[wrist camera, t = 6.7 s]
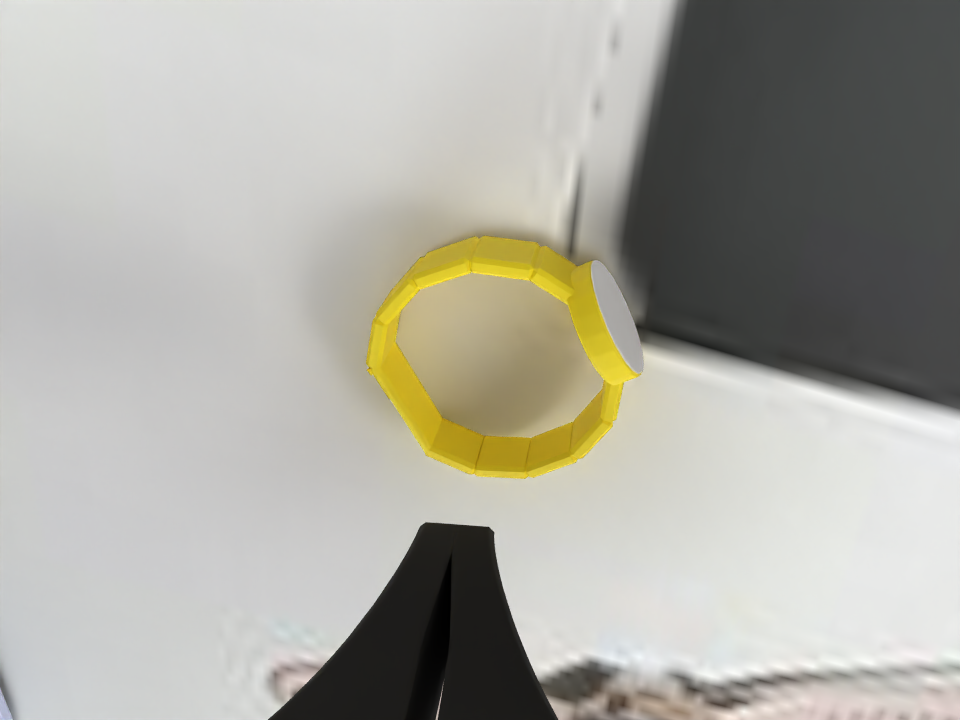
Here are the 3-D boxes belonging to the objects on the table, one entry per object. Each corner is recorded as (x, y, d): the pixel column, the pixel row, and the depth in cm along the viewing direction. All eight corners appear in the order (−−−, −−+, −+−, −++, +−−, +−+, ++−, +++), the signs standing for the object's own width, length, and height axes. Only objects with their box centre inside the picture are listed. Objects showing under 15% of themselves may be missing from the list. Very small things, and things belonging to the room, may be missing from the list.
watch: (311, 338, 16) (542, 217, 14) (352, 285, 18) (556, 173, 16) (456, 523, 18) (678, 447, 16) (476, 455, 21) (673, 379, 18)
